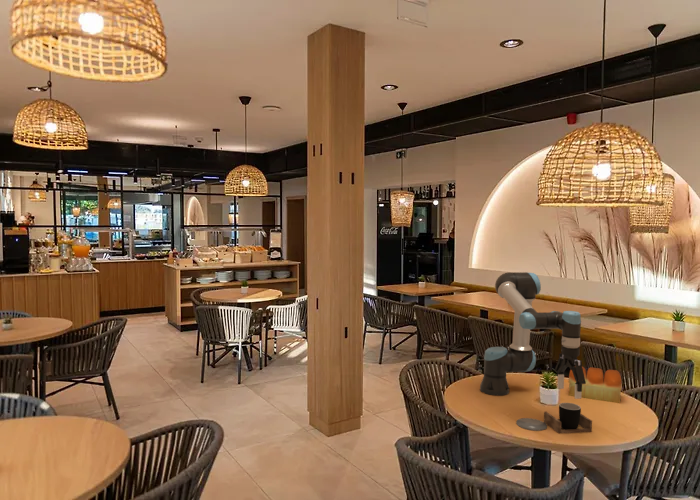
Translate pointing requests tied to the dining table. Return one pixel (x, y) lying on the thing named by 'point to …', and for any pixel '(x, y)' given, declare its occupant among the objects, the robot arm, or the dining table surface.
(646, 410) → the dining table surface
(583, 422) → the frame
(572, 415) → the mug
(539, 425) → the coaster
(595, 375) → the bread
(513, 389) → the dining table surface
